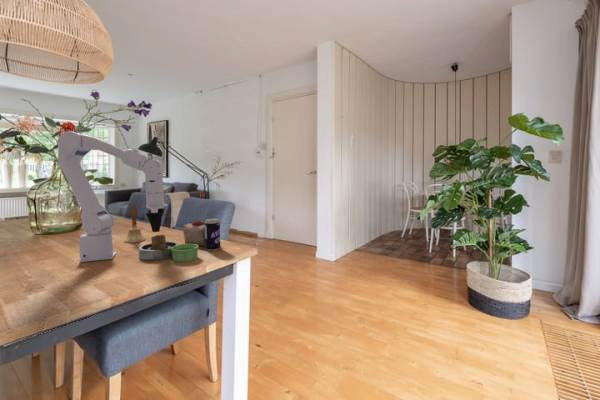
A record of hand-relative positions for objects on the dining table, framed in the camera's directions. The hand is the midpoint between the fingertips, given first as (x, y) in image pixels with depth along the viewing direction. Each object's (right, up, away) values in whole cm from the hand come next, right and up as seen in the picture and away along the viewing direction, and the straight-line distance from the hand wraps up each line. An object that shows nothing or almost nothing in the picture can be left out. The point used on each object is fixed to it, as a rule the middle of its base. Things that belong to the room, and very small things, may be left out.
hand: (156, 229), depth 107 cm
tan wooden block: (+1, -9, 0) cm, 9 cm away
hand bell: (-21, -7, +23) cm, 31 cm away
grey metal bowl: (+1, -9, 0) cm, 9 cm away
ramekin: (+12, -10, -4) cm, 16 cm away
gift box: (+10, -8, +17) cm, 21 cm away
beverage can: (+18, -9, +8) cm, 22 cm away
